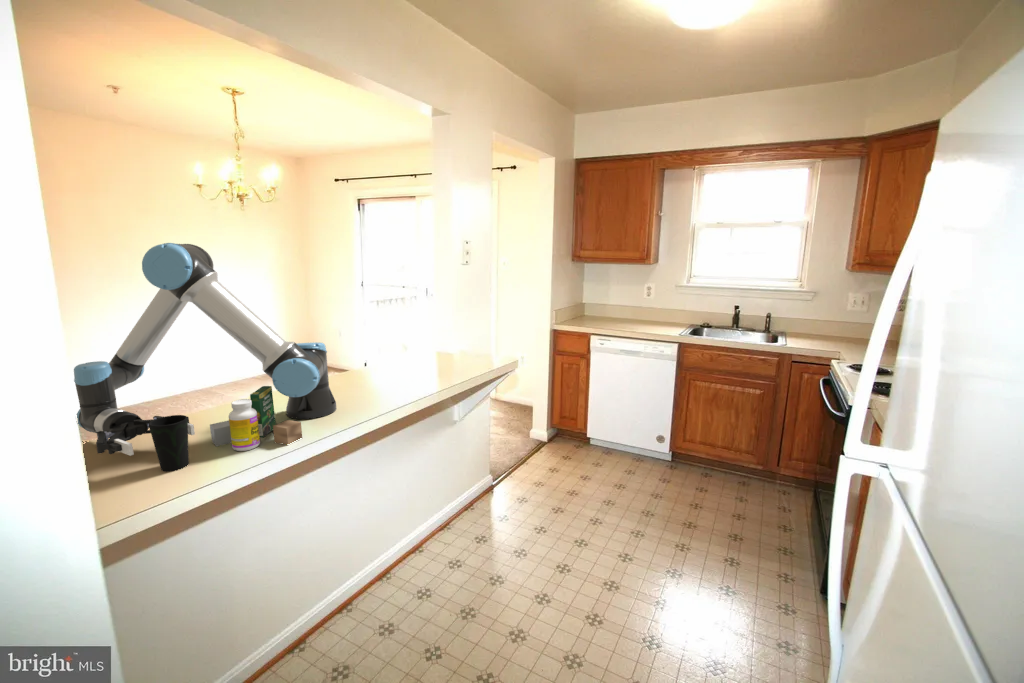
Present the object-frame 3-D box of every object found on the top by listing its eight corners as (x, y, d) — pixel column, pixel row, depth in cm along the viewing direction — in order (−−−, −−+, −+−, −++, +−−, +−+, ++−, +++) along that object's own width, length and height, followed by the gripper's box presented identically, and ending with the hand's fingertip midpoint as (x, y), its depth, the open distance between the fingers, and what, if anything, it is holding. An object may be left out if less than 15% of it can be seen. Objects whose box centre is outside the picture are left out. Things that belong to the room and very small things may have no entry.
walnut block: (289, 436, 134) (287, 419, 133) (302, 438, 132) (300, 422, 131) (274, 442, 130) (272, 425, 129) (288, 445, 128) (286, 428, 127)
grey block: (232, 436, 134) (230, 420, 133) (236, 441, 131) (234, 424, 130) (211, 441, 131) (209, 424, 130) (216, 446, 127) (213, 429, 126)
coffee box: (264, 438, 133) (259, 393, 130) (253, 438, 133) (248, 393, 130) (277, 427, 141) (272, 385, 138) (267, 427, 141) (262, 385, 138)
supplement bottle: (255, 451, 124) (249, 404, 122) (228, 452, 123) (222, 406, 121) (264, 441, 131) (259, 397, 128) (238, 442, 130) (233, 398, 127)
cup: (200, 459, 119) (194, 414, 117) (181, 473, 112) (173, 425, 110) (169, 459, 119) (163, 415, 117) (148, 473, 112) (140, 426, 109)
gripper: (172, 423, 136) (216, 435, 126) (60, 456, 114) (104, 474, 105) (168, 398, 134) (213, 409, 125) (55, 427, 113) (98, 443, 103)
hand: (163, 439), depth 115 cm, fingers open, 13 cm apart
